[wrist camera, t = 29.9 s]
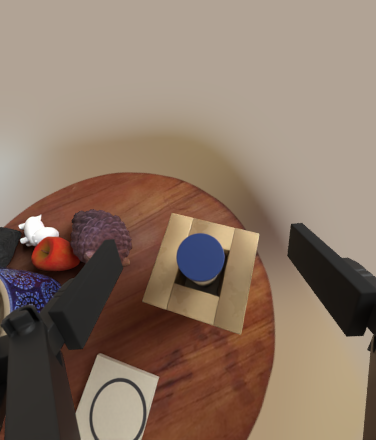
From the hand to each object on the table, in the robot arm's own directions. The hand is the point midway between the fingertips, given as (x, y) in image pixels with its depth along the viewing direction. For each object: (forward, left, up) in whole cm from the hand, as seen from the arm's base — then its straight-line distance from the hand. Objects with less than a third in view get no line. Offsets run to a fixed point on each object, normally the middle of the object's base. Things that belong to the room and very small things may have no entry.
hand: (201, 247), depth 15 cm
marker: (0, +1, -10) cm, 10 cm away
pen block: (0, +1, -24) cm, 24 cm away
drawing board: (+9, +24, -24) cm, 35 cm away
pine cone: (+20, -1, -24) cm, 32 cm away
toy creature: (+38, +3, -21) cm, 43 cm away
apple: (+26, +4, -24) cm, 36 cm away
